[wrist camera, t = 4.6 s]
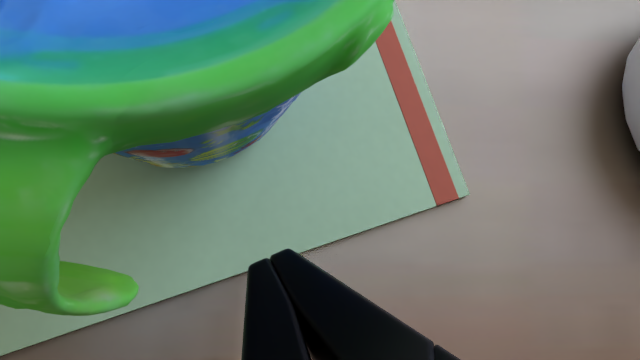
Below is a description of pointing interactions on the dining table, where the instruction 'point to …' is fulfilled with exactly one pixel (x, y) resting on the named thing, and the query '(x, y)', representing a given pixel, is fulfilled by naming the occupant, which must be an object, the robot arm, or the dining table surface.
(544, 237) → the dining table surface
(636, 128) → the donut
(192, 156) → the snack cup
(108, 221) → the green flat piece
